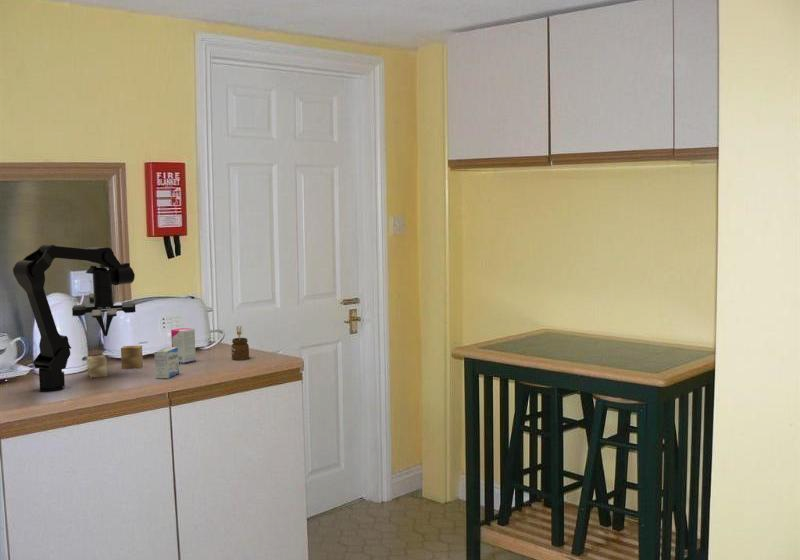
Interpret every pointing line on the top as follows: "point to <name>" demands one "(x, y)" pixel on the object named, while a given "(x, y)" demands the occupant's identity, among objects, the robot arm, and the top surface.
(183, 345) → the supplement box
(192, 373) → the top surface
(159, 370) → the medicine box
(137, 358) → the oak block
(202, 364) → the top surface
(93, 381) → the top surface
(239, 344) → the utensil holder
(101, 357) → the beech block
